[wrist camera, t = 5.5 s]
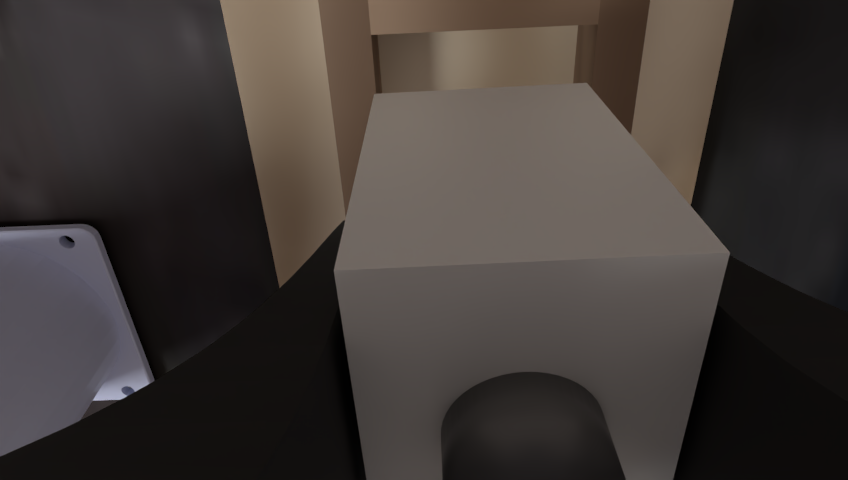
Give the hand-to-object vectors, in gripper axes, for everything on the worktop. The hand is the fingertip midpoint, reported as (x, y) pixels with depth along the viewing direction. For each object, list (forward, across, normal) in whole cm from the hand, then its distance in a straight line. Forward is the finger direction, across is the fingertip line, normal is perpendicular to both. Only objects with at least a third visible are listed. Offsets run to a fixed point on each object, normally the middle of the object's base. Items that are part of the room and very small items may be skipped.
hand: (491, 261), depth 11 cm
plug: (+2, 0, 0) cm, 2 cm away
